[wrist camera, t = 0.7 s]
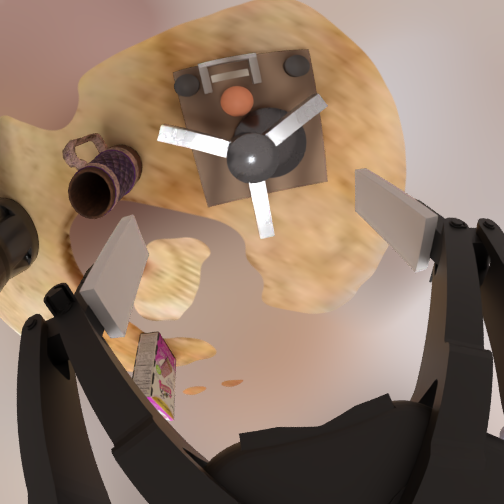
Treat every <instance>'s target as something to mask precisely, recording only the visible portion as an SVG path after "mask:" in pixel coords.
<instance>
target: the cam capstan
mask: <svg viewBox="0 0 504 504" xmlns="http://www.w3.org/2000/svg"><path fill="white" fill-rule="evenodd" d="M327 106H328V105H327V104H326V103H325V101H324V100H323V99H322V97H321V96H320V95H319V94H312V95H311V96H309V97H308V98H307V99H305V100H304V101H303V102H301V103H300V104H299V105H297V106H296V107H295V108H293V109H292V110H291V111H289V112H287V111H285V110H282V109H278V108H271V107H266V108H260V109H256V110H254V111H252V112H250V113H248V114H247V115H246V116H245V117H243V118H242V120H241V121H240V122H239V123H238V125H237V127H236V129H235V132H234V136H233V137H232V138H231V140H229V139H225V138H222V137H218V136H214V135H211V134H207V133H203V132H199V131H195V130H191V129H186V128H182V127H178V126H173V125H169V124H163V125H161V128H160V132H159V136H158V140H157V141H161V142H165V143H170V144H174V145H179V146H183V147H187V148H191V149H195V150H200V151H203V152H207V153H211V154H215V155H219V156H222V157H226V158H227V165H228V168H229V171H230V172H231V174H232V175H233V176H234V177H235V178H236V179H238V180H239V181H241V182H244V183H248V184H249V189H250V193H251V198H252V203H253V208H254V212H255V217H256V222H257V227H258V232H259V235H260V238H261V239H263V238H267V237H271V236H275V235H274V229H273V223H272V218H271V212H270V207H269V201H268V196H267V190H266V185H265V180H267V179H268V178H276V177H280V176H283V175H286V174H287V173H289V172H291V171H292V170H293V169H295V168H296V167H297V166H298V164H299V163H300V162H301V160H302V158H303V156H304V154H305V151H306V143H307V141H306V134H305V131H304V128H303V126H302V125H304V124H305V123H306V122H308V121H309V120H310V119H311V118H313V117H314V116H315V115H317V114H318V113H319V112H321V111H322V110H323V109H325V108H326V107H327Z"/></svg>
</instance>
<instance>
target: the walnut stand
mask: <svg viewBox="0 0 504 504" xmlns="http://www.w3.org/2000/svg"><path fill="white" fill-rule="evenodd" d="M173 76H174V80H175V84H174V89H175V91H176V93H177V94H178V96H179V100H180V104H181V108H182V112H183V116H184V120H185V124H186V128H187V129H191V130H195V131H199V132H203V133H207V134H211V135H214V136H218V137H222V138H225V139H229V140H231V138H232V137H233V136H234V132H235V129H236V127H237V125H238V123H239V122H240V121H241V120H242V118H243V117H245V116H246V115H247V114H248V113H250V112H252V111H254V110H256V109H260V108H266V107H271V108H278V109H282V110H285V111H287V112H289V111H291V110H292V109H293V108H295V107H296V106H297V105H299V104H300V103H301V102H303V101H304V100H305V99H307V98H308V97H309V96H311V95H312V94H317V92H316V86H315V80H314V75H313V69H312V64H311V59H310V54H309V49H305V50H289V51H278V52H269V53H261V54H256V53H250V54H244V55H238V56H232V57H227V58H222V59H217V60H213V61H208V62H204V63H200V64H198V66H194V67H190V68H187V69H183V70H179V71H176V72H173ZM233 86H241V87H244V88H246V89H248V90H249V91H250V92H251V94H252V96H253V100H254V102H253V106H252V108H251V110H250V111H249V112H248V113H247V114H245V115H243V116H237V117H236V116H231V115H229V114H227V113H226V112H225V111H224V110H223V109H222V107H221V103H220V100H221V96H222V94H223V93H224V91H225V90H227V89H228V88H230V87H233ZM302 126H303V128H304V131H305V134H306V141H307V143H306V151H305V154H304V156H303V158H302V160H301V162H300V163H299V164H298V166H297V167H296V168H295V169H293V170H292V171H291V172H289V173H287V174H286V175H283V176H280V177H276V178H268V179H267V180H265V185H266V190H267V193H272V192H277V191H281V190H286V189H291V188H296V187H301V186H306V185H312V184H317V183H322V182H328V180H327V169H326V159H325V150H324V141H323V133H322V125H321V118H320V112H319V113H318V114H317V115H315V116H314V117H313V118H311V119H310V120H309V121H308V122H306V123H305V124H304V125H302ZM192 151H193V154H194V158H195V162H196V165H197V169H198V173H199V176H200V180H201V183H202V187H203V191H204V194H205V198H206V201H207V205H208V207H211V206H215V205H219V204H223V203H228V202H232V201H236V200H240V199H245V198H249V197H251V193H250V189H249V184H248V183H244V182H241V181H239V180H238V179H236V178H235V177H234V176H233V175H232V174H231V172H230V171H229V168H228V165H227V158H226V157H222V156H219V155H215V154H211V153H207V152H203V151H200V150H195V149H192Z"/></svg>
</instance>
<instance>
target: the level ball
mask: <svg viewBox="0 0 504 504" xmlns="http://www.w3.org/2000/svg"><path fill="white" fill-rule="evenodd" d="M253 102H254V100H253V96H252V94H251V92H250V91H249V90H248V89H246V88H244V87H241V86H233V87H230V88H228V89H227V90H225V91H224V93H223V94H222V96H221V100H220V103H221V107H222V109H223V110H224V111H225V112H226V113H227V114H229V115H231V116H236V117H237V116H243V115H245V114H247V113H248V112H249V111H250V110H251V108H252V106H253Z"/></svg>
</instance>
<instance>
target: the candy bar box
mask: <svg viewBox="0 0 504 504" xmlns="http://www.w3.org/2000/svg"><path fill="white" fill-rule="evenodd" d="M175 371H176V359H175V358H174V356H173V355H172V353H171V351H170V350H169V348H168V346H167V345H166V343H165V341H164V340H163V338H162V336H161V334H160V333H159V332H152V333H143V334H140V338H139V343H138V348H137V354H136V359H135V365H134V371H133V377H132V379H133V381H134V382H135V383H136V385H137V386H138V387H139V388H140V390H141V391H142V392H143V393H144V395H145V396H146V397H147V398H148V400H149V401H150V402H151V403H152V404H153V406H154V407H155V408H156V409H157V410H158V411H159V413H160V414H161V415H162V416H163V417H164V418H165V419H166V420H167V421H171V420H174V395H175V391H174V390H175Z"/></svg>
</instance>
